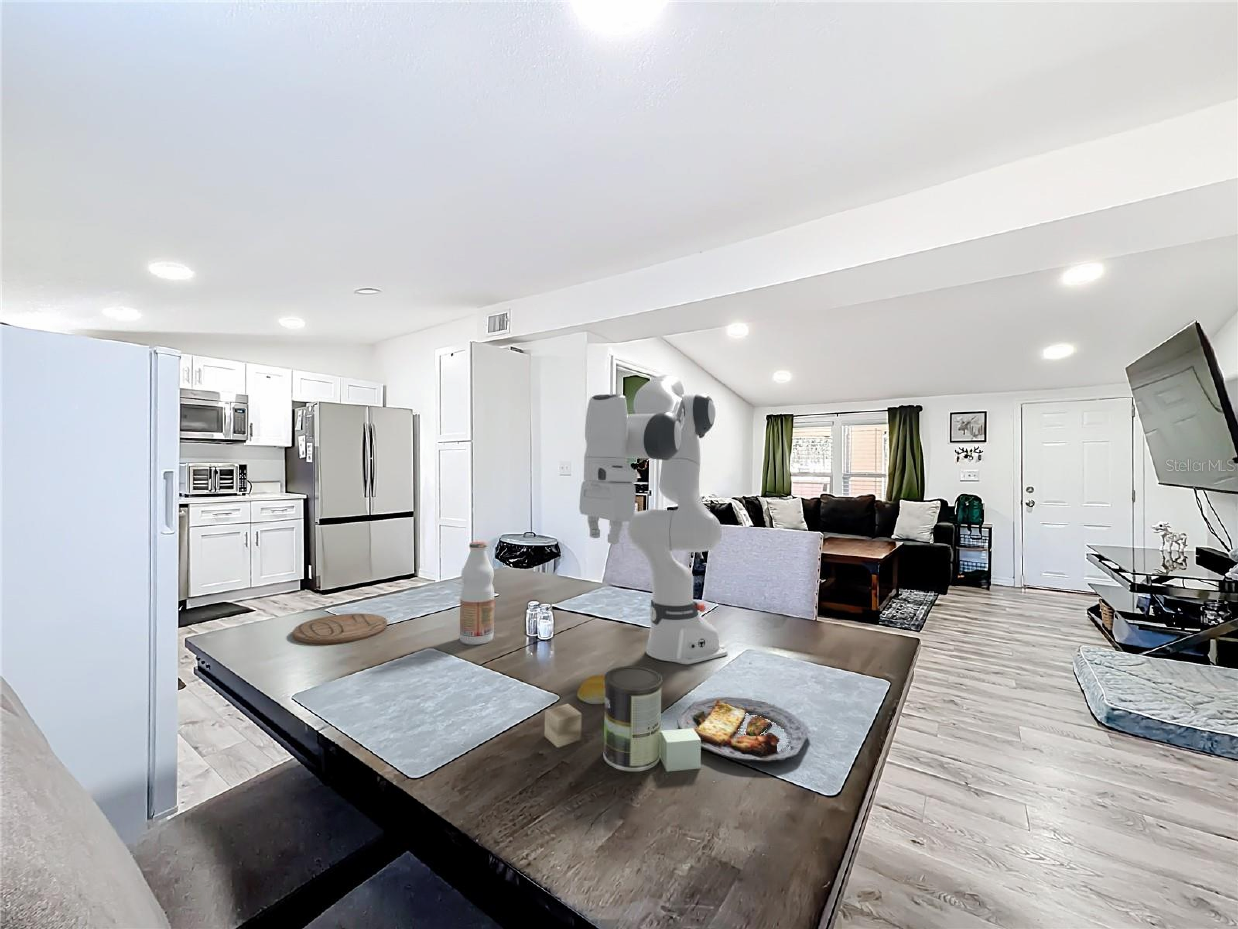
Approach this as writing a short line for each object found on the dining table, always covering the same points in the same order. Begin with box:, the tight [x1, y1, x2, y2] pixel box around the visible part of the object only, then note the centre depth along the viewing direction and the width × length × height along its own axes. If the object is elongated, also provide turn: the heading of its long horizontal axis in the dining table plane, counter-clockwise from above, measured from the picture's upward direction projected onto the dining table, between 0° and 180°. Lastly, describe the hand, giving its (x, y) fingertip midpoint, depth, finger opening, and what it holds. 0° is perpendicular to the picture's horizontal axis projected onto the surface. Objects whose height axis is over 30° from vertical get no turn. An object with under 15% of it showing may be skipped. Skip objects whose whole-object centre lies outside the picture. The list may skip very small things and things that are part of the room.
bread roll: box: [576, 674, 605, 705], centre depth 120 cm, size 8×9×4 cm
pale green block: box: [660, 728, 702, 772], centre depth 94 cm, size 6×4×5 cm, turn 101°
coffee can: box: [602, 665, 663, 773], centre depth 96 cm, size 10×10×14 cm
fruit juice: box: [459, 541, 495, 646], centre depth 155 cm, size 9×9×28 cm
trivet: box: [292, 613, 388, 646], centre depth 161 cm, size 25×25×2 cm
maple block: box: [544, 703, 582, 748], centre depth 102 cm, size 5×5×5 cm
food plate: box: [676, 696, 811, 764], centre depth 104 cm, size 25×23×4 cm
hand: (603, 540), depth 109 cm, fingers open, 8 cm apart
